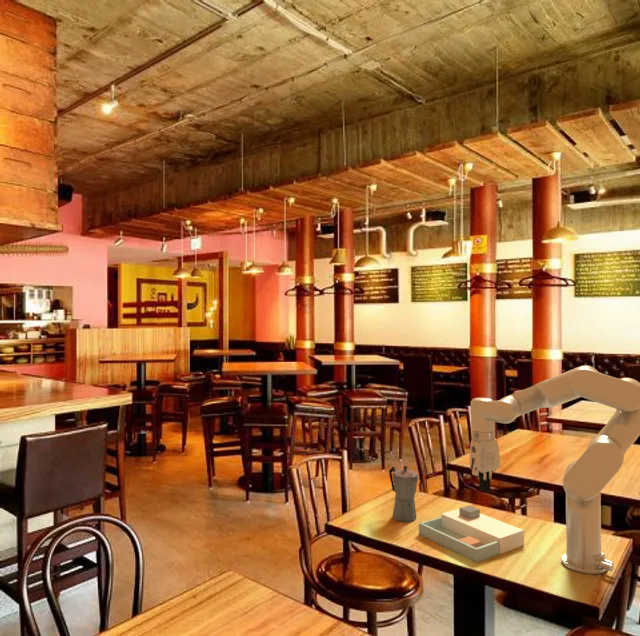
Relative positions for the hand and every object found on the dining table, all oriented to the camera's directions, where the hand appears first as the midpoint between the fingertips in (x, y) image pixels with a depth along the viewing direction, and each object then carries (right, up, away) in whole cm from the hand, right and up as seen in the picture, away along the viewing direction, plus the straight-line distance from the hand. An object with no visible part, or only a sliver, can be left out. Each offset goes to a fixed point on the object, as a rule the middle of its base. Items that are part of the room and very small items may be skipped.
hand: (485, 490), depth 176 cm
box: (-9, -19, +2) cm, 21 cm away
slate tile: (-1, -13, +13) cm, 19 cm away
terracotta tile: (-6, -15, -3) cm, 17 cm away
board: (+1, -18, +8) cm, 20 cm away
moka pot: (-23, -19, +26) cm, 40 cm away
